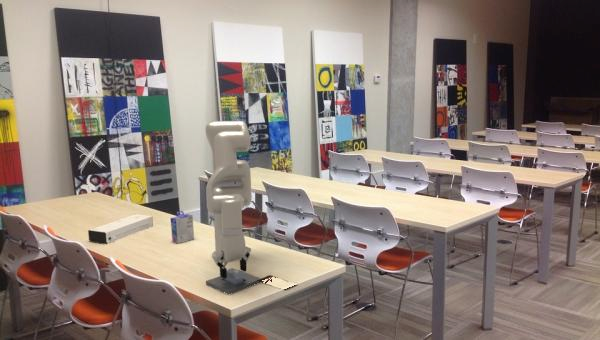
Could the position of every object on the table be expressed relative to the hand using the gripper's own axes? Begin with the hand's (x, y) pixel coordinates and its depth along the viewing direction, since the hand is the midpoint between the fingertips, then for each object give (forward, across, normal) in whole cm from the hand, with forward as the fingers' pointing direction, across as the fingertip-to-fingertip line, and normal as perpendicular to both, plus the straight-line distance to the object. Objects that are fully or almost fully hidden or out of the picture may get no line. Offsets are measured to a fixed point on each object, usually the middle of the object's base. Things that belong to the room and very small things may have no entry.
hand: (233, 274), depth 198 cm
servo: (+4, 0, 0) cm, 4 cm away
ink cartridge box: (+4, -18, -62) cm, 65 cm away
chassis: (+4, 0, 0) cm, 4 cm away
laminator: (+4, -5, -95) cm, 95 cm away
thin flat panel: (+4, -12, +12) cm, 17 cm away
